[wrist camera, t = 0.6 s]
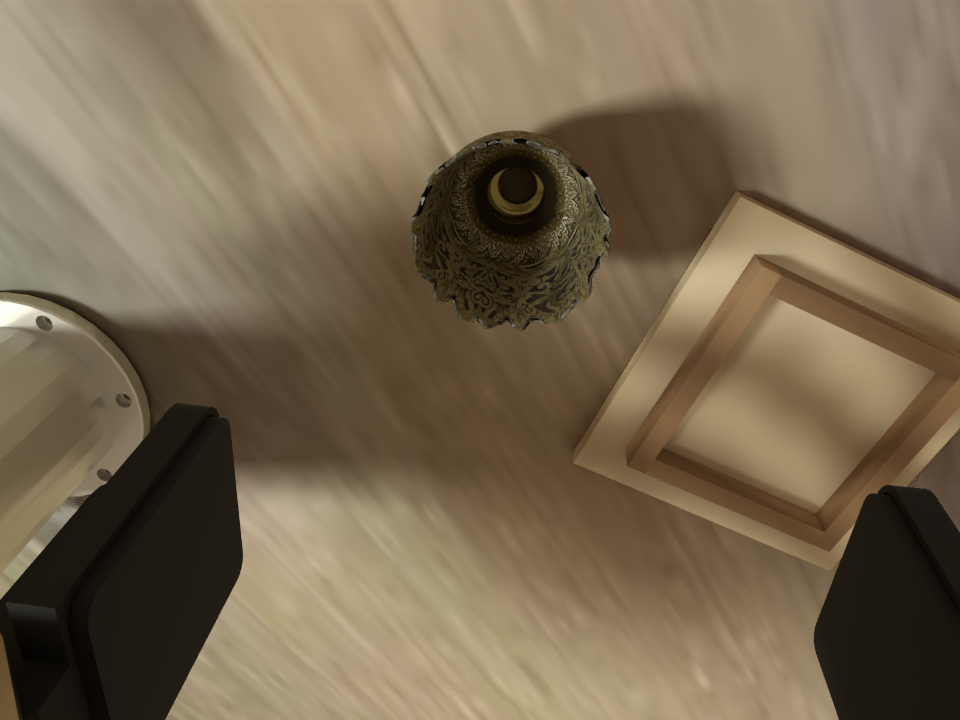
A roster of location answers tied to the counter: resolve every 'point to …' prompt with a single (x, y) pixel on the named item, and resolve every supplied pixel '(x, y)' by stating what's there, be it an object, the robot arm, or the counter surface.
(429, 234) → the ornate lamp shade
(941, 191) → the counter surface
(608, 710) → the counter surface
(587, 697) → the counter surface
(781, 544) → the square wooden tray
